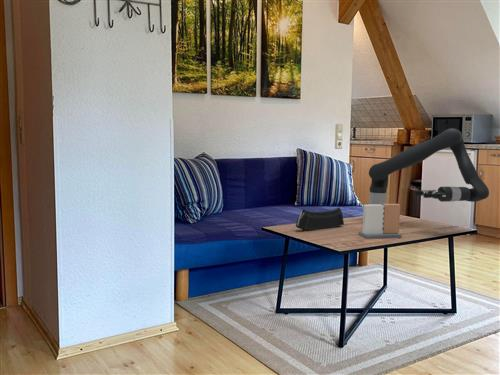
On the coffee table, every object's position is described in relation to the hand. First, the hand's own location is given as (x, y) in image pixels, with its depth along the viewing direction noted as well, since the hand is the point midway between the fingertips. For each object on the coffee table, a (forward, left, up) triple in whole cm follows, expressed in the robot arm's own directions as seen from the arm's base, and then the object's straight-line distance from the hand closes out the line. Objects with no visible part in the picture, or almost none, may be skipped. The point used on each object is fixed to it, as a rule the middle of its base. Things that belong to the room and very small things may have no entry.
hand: (419, 194), depth 249 cm
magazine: (-20, -44, -21) cm, 52 cm away
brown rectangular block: (0, -15, -19) cm, 24 cm away
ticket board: (0, -20, -20) cm, 29 cm away
